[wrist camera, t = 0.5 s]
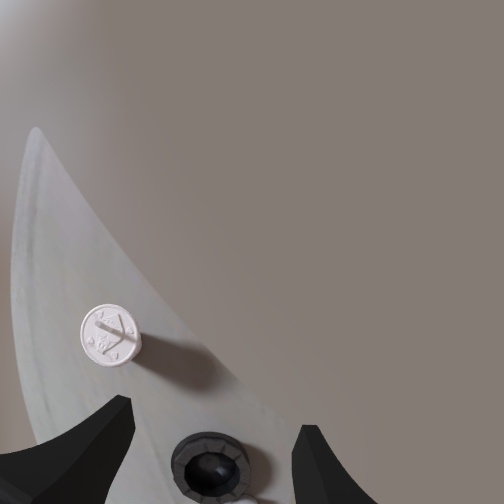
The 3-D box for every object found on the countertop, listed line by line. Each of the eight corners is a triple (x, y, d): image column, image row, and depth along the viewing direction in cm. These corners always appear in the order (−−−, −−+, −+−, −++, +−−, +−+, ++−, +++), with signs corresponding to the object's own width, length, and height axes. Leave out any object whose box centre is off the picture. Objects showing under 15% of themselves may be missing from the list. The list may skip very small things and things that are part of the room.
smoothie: (160, 332, 36) (142, 313, 23) (140, 376, 33) (111, 380, 20) (118, 310, 36) (82, 280, 23) (98, 352, 33) (52, 342, 20)
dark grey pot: (245, 497, 29) (251, 509, 25) (169, 491, 27) (167, 503, 24) (251, 434, 33) (258, 441, 29) (173, 426, 31) (171, 433, 28)
